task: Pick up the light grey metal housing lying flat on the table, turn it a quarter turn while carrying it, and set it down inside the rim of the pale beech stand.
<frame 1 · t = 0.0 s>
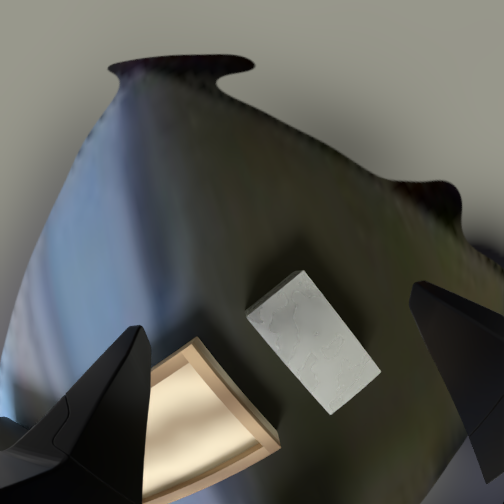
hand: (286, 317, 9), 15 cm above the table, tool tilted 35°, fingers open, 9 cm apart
beech stand: (166, 431, 23), on the table
end cap: (51, 448, 22), on the table
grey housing: (306, 337, 24), on the table
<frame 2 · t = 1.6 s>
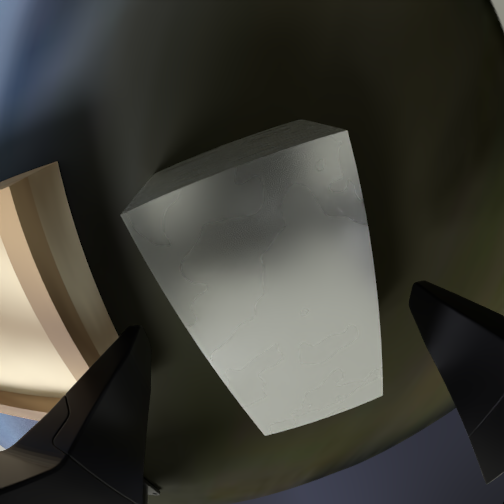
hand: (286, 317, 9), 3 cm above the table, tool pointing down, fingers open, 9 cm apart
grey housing: (272, 268, 12), on the table
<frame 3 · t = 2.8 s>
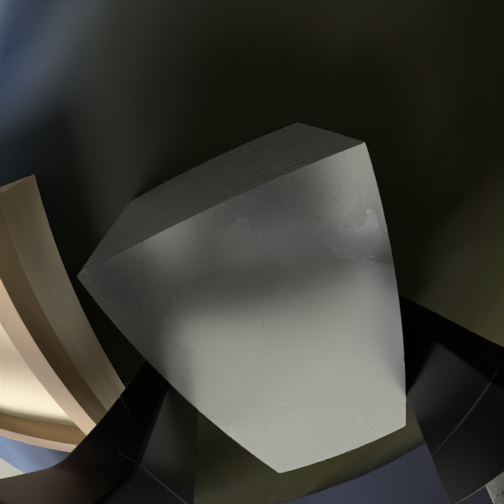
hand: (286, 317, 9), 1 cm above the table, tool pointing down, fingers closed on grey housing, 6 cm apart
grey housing: (279, 297, 10), on the table, touching gripper
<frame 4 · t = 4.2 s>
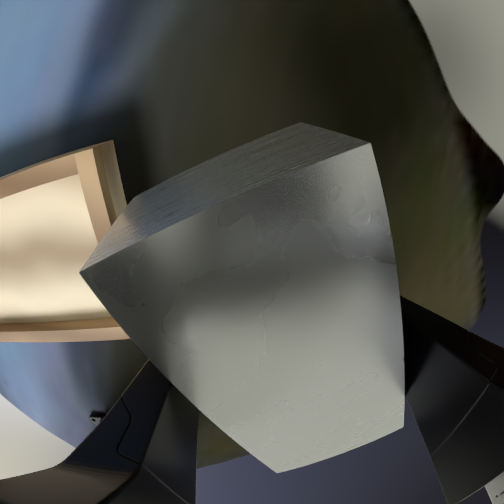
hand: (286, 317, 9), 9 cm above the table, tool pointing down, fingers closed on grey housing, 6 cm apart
beech stand: (32, 250, 16), on the table
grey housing: (279, 297, 10), point 8 cm above the table, touching gripper
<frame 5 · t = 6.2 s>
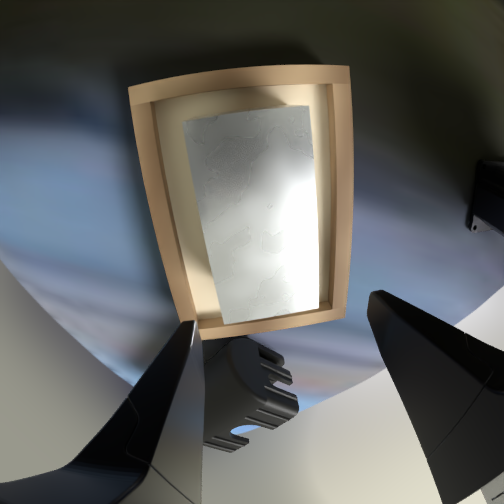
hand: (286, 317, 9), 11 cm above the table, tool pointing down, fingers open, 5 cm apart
beech stand: (250, 202, 19), on the table
end cap: (223, 367, 26), on the table
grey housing: (251, 199, 17), point 2 cm above the table, touching beech stand
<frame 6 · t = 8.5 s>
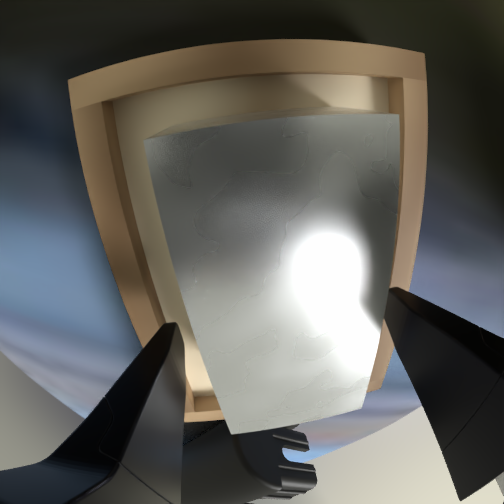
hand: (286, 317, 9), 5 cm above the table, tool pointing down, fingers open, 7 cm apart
beech stand: (265, 250, 13), on the table
end cap: (226, 428, 20), on the table
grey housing: (270, 255, 11), point 2 cm above the table, touching beech stand
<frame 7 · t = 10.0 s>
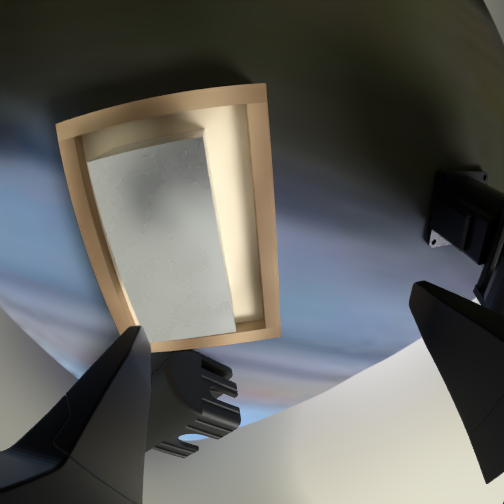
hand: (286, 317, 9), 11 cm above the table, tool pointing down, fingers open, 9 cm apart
beech stand: (181, 224, 19), on the table
end cap: (174, 377, 26), on the table
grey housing: (175, 223, 17), point 2 cm above the table, touching beech stand
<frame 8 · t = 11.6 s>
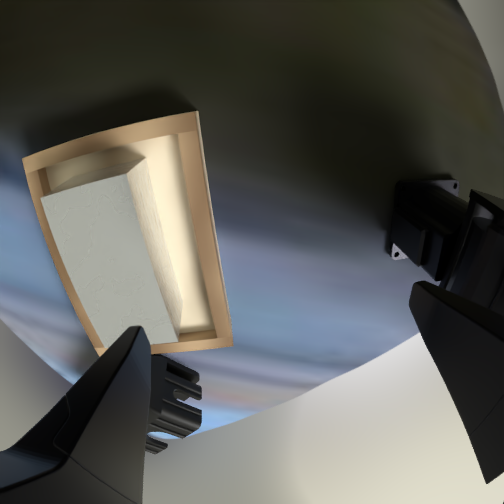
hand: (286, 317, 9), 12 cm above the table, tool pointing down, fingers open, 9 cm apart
beech stand: (138, 241, 20), on the table
end cap: (148, 378, 27), on the table
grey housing: (127, 243, 18), point 2 cm above the table, touching beech stand
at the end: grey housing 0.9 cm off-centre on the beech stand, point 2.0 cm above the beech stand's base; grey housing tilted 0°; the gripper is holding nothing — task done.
